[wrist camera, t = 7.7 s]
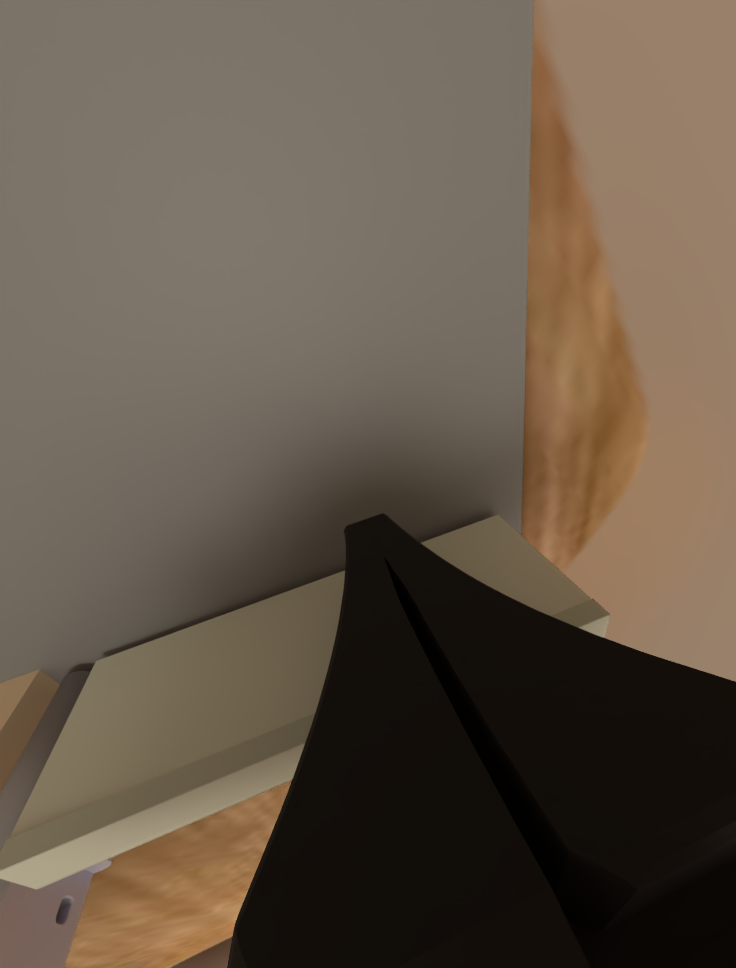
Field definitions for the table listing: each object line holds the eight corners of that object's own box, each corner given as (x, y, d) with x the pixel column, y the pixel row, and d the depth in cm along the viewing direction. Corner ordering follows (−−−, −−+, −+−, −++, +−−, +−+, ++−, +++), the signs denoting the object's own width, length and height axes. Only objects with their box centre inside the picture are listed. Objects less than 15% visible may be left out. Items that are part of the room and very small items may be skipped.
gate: (79, 697, 11) (-29, 917, 7) (51, 675, 10) (-85, 906, 6) (498, 540, 13) (602, 645, 9) (497, 513, 12) (610, 614, 8)
